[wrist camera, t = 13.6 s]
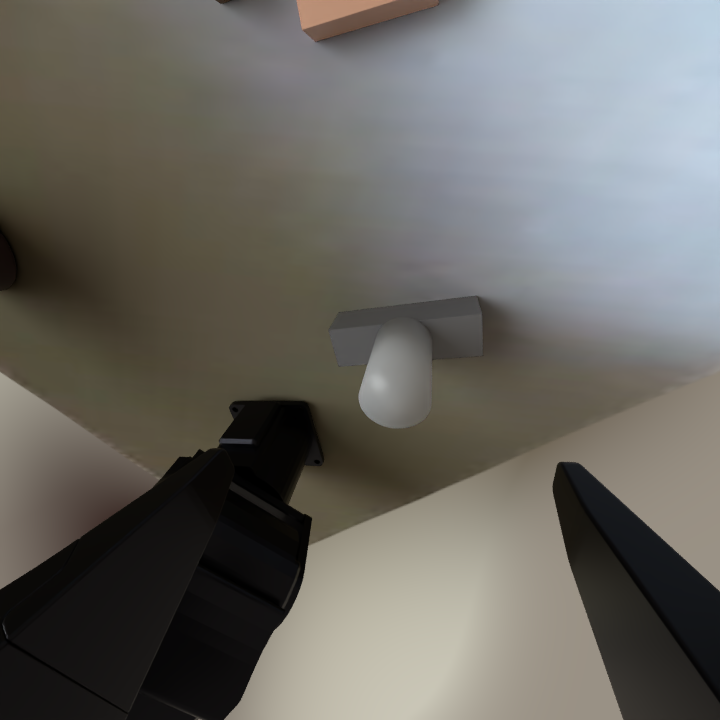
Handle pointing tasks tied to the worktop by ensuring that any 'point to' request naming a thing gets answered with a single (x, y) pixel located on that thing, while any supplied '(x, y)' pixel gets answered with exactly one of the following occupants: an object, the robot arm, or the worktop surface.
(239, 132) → the worktop surface
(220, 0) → the open frame
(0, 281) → the bottle
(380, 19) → the tile
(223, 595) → the robot arm
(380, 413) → the pusher
